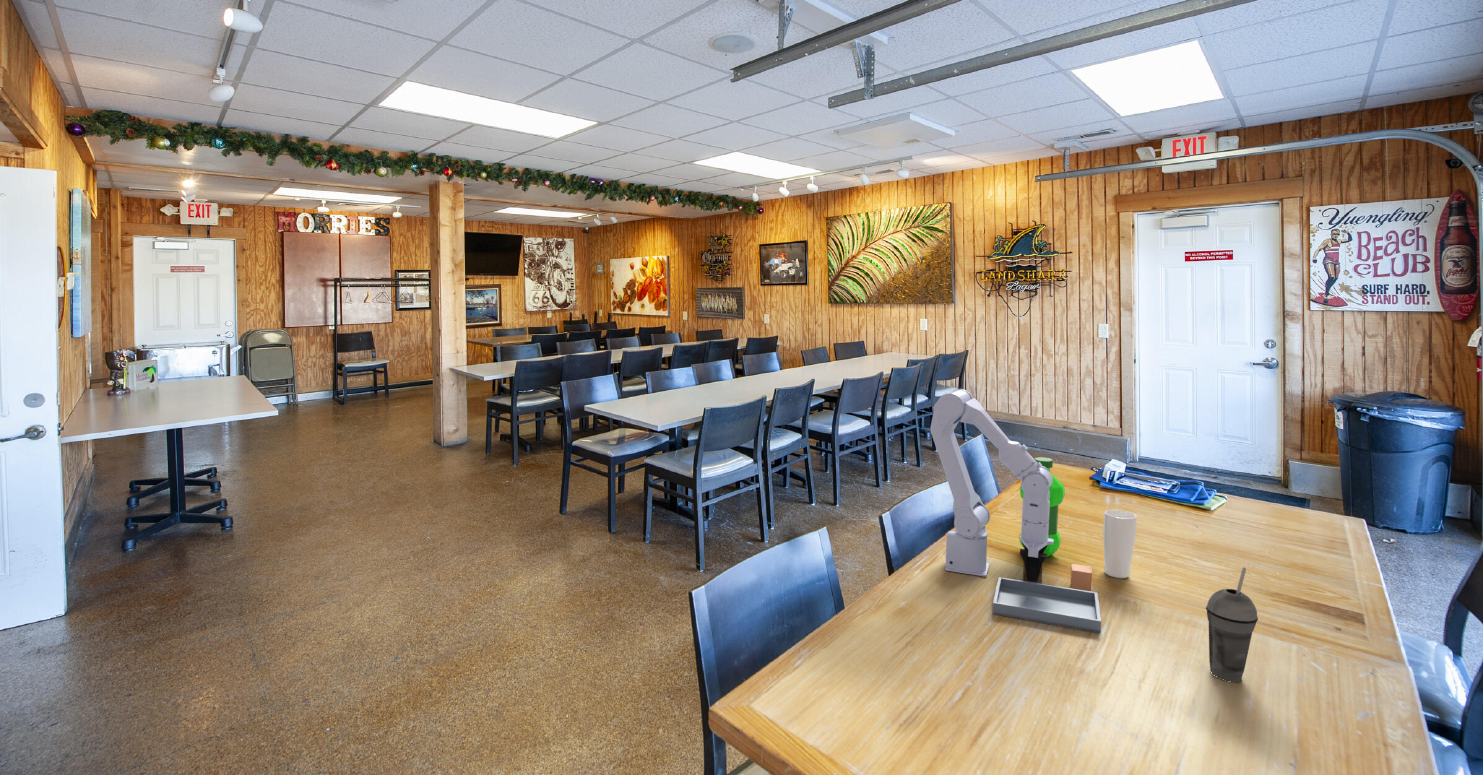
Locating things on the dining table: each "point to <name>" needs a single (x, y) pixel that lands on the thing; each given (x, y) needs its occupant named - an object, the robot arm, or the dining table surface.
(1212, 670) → the beverage cup
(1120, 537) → the drinking glass
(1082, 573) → the terracotta block
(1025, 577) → the walnut block
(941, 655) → the dining table surface
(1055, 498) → the plastic bottle
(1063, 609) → the tray
